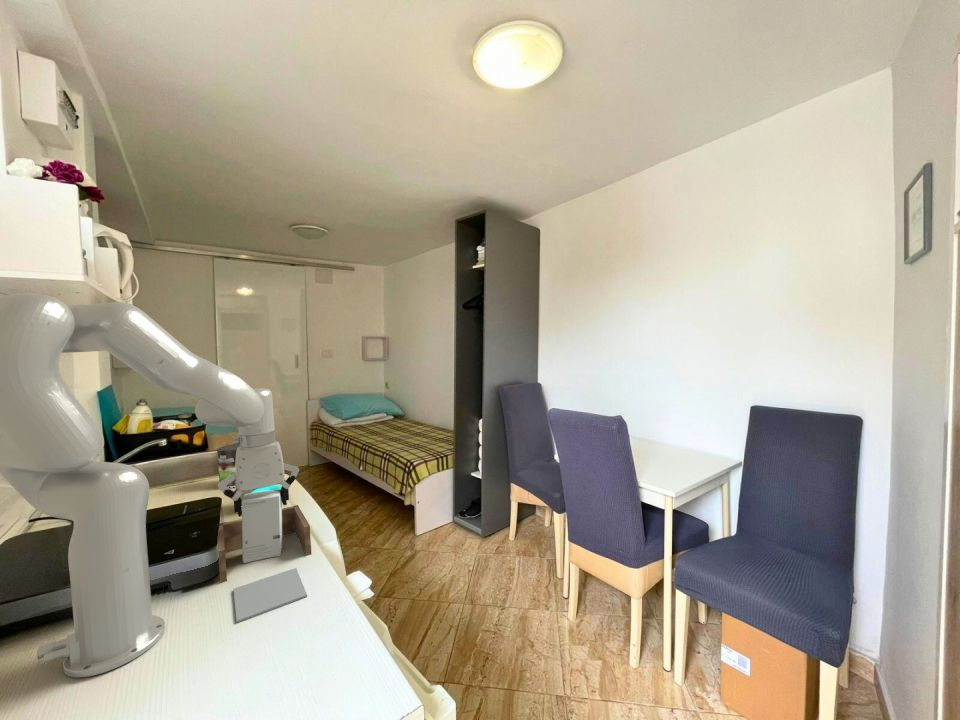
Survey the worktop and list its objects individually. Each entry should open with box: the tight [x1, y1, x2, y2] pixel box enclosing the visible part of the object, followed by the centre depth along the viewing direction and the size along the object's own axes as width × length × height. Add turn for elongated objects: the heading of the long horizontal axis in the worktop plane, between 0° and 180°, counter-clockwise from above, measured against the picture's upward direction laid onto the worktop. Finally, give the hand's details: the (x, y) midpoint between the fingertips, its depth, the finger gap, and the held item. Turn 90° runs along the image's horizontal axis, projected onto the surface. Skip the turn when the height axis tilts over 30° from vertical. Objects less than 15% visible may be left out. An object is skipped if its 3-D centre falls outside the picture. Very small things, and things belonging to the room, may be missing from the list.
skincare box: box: [241, 489, 283, 564], centre depth 95 cm, size 8×6×15 cm
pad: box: [232, 567, 308, 624], centre depth 79 cm, size 12×12×1 cm
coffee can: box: [216, 443, 240, 488], centre depth 147 cm, size 10×10×14 cm
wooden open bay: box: [217, 504, 312, 584], centre depth 95 cm, size 18×16×7 cm
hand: (262, 508), depth 95 cm, fingers closed on skincare box, 9 cm apart
